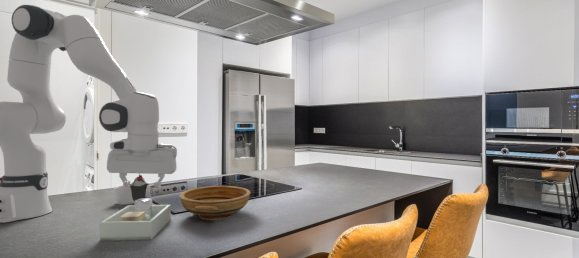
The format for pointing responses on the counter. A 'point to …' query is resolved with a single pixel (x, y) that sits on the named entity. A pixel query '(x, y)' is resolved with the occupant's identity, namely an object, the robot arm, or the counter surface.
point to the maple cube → (133, 216)
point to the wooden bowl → (214, 201)
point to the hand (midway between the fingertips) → (142, 187)
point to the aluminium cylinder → (144, 207)
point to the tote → (134, 225)
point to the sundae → (138, 188)
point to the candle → (123, 195)
